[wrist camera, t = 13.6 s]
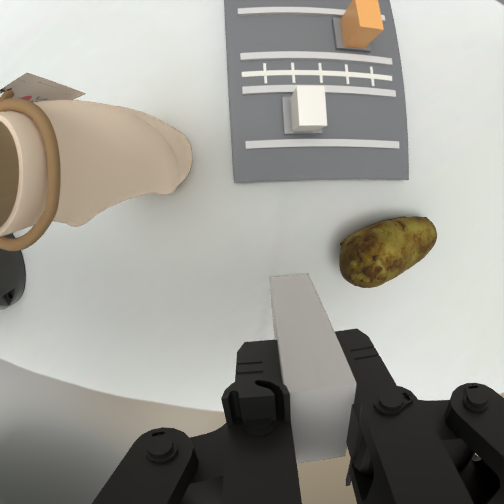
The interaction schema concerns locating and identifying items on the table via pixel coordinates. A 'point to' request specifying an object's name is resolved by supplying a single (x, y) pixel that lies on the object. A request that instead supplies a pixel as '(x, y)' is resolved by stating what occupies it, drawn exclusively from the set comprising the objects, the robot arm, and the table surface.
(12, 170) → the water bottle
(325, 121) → the fader
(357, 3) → the fader
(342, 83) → the console
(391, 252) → the potato
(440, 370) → the table surface
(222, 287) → the table surface
